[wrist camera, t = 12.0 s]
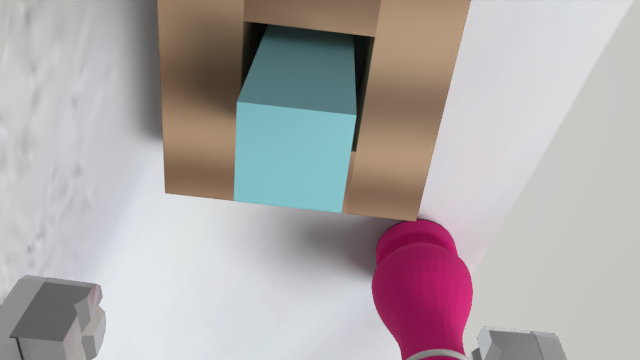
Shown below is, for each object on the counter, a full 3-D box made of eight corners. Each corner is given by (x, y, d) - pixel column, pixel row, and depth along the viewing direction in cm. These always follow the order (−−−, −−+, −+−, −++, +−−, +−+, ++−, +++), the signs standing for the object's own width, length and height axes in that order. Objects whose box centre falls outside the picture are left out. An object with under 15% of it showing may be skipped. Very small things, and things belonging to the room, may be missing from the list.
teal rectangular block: (273, 10, 35) (236, 101, 23) (352, 20, 35) (356, 115, 23) (268, 85, 38) (233, 201, 26) (342, 93, 38) (341, 212, 26)
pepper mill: (375, 288, 47) (392, 547, 30) (363, 219, 43) (376, 469, 26) (463, 279, 46) (532, 540, 29) (459, 207, 42) (535, 458, 25)
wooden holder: (183, -97, 32) (153, -83, 27) (460, -62, 33) (481, -43, 27) (187, 147, 41) (165, 193, 35) (407, 173, 41) (415, 221, 36)
